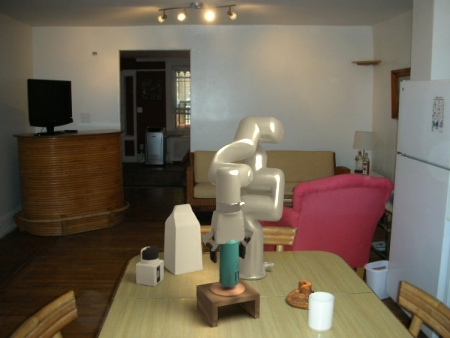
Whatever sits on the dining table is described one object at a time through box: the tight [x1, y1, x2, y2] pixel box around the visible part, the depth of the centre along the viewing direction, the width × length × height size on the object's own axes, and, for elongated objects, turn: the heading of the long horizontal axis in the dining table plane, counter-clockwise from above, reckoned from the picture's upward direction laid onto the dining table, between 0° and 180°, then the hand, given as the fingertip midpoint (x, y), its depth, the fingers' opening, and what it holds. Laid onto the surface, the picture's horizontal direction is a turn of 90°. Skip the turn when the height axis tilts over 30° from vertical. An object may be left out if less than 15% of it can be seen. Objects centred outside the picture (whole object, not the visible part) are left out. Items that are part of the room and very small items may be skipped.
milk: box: [163, 203, 204, 276], centre depth 191 cm, size 12×12×26 cm
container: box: [135, 246, 165, 287], centre depth 178 cm, size 8×8×13 cm
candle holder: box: [285, 280, 315, 310], centre depth 162 cm, size 12×12×7 cm
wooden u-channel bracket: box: [195, 278, 261, 328], centre depth 153 cm, size 16×14×9 cm
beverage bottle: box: [218, 240, 239, 287], centre depth 151 cm, size 6×7×20 cm
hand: (227, 259), depth 151 cm, fingers open, 9 cm apart
